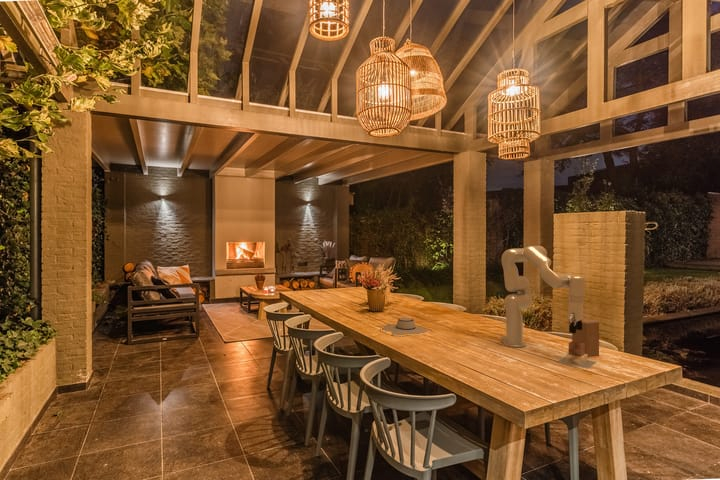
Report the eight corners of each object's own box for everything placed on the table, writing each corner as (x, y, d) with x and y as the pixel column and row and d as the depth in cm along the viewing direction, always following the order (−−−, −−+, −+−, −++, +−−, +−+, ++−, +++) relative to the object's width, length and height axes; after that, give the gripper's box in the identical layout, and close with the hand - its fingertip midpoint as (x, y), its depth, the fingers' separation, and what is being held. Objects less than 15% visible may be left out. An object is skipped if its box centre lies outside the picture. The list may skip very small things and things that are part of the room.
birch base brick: (566, 362, 210) (566, 354, 210) (571, 358, 216) (571, 351, 216) (582, 365, 205) (582, 357, 205) (587, 361, 210) (587, 354, 210)
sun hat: (370, 331, 290) (370, 318, 290) (404, 324, 313) (404, 312, 313) (406, 340, 262) (406, 326, 262) (441, 331, 285) (441, 319, 285)
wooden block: (585, 358, 219) (585, 322, 219) (571, 353, 228) (571, 318, 228) (600, 357, 221) (599, 321, 221) (585, 352, 231) (585, 317, 231)
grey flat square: (556, 363, 210) (556, 362, 210) (566, 357, 221) (566, 356, 221) (588, 370, 200) (588, 368, 200) (597, 363, 210) (596, 361, 210)
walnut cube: (568, 354, 210) (568, 343, 210) (572, 352, 214) (572, 341, 214) (581, 356, 206) (581, 345, 206) (584, 354, 210) (584, 343, 210)
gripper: (574, 296, 219) (573, 327, 219) (563, 300, 207) (562, 332, 207) (589, 298, 214) (588, 329, 214) (578, 302, 201) (578, 335, 202)
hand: (575, 331), depth 211 cm, fingers open, 9 cm apart
